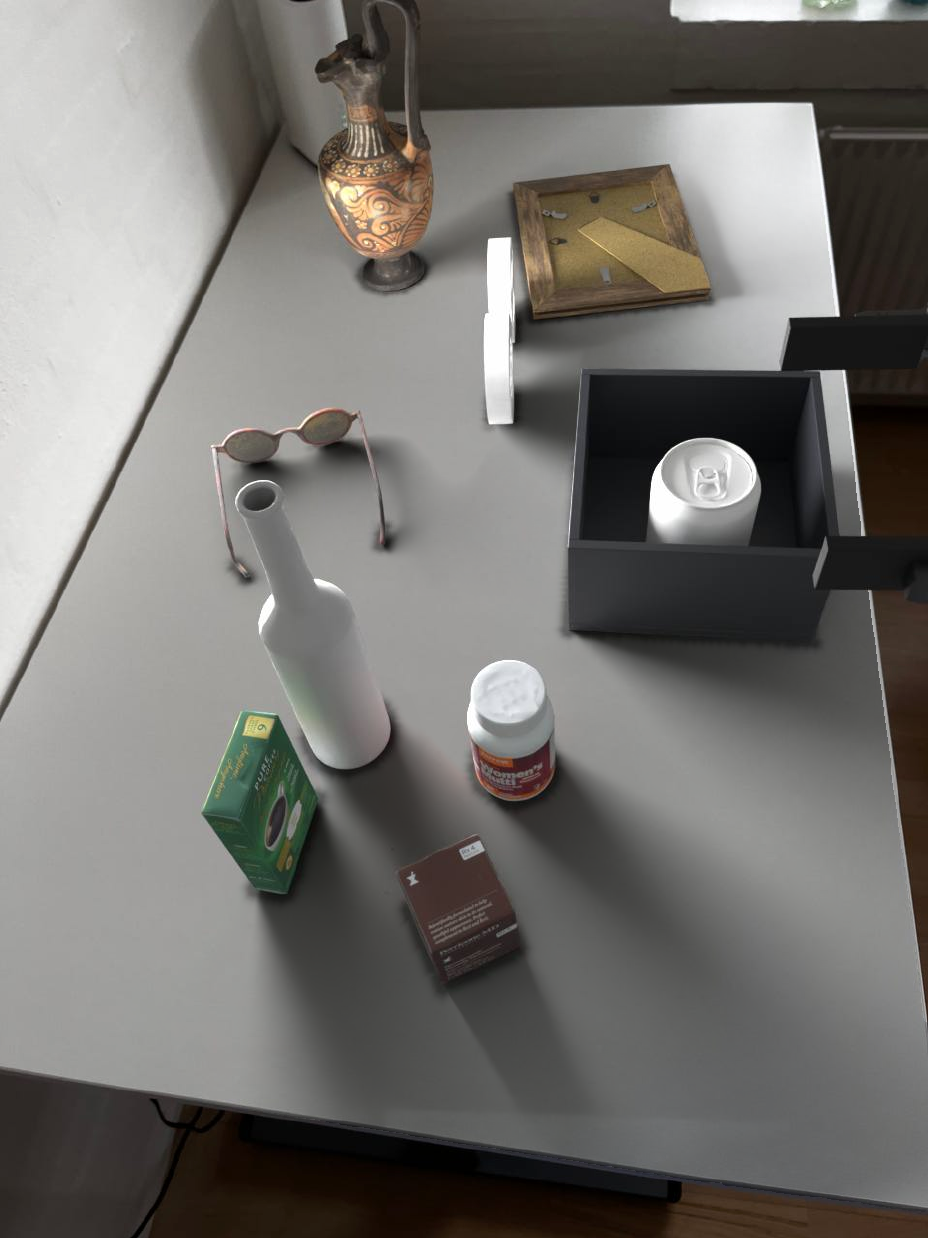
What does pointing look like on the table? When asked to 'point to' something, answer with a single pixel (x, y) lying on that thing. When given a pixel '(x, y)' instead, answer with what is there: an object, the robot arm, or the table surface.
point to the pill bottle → (512, 730)
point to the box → (460, 908)
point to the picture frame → (607, 242)
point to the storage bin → (692, 573)
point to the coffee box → (261, 801)
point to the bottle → (314, 642)
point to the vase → (378, 154)
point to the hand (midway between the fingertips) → (799, 444)
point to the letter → (500, 332)
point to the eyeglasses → (263, 445)
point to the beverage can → (704, 495)
